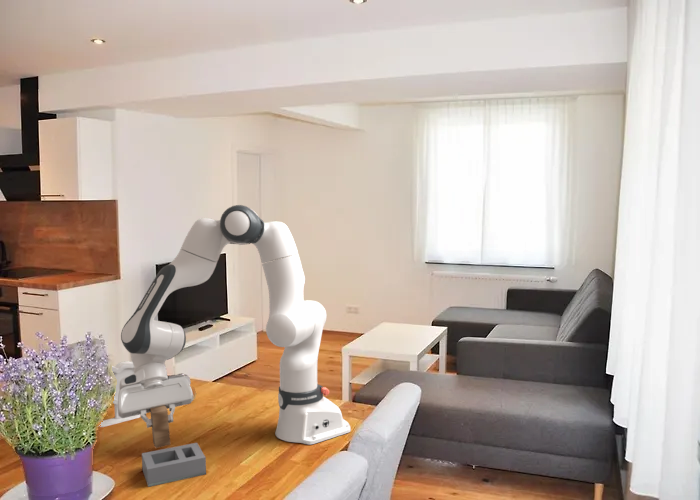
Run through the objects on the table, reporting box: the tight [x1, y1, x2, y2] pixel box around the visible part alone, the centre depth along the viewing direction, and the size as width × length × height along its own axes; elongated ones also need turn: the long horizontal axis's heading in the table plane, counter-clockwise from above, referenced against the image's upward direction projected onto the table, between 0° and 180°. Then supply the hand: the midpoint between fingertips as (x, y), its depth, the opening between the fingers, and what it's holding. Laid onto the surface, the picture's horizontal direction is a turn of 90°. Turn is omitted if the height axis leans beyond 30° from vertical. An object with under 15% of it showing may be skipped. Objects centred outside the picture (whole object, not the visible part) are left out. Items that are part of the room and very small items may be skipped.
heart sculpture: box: [98, 360, 141, 428], centre depth 188 cm, size 16×5×18 cm, turn 131°
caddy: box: [141, 442, 207, 488], centre depth 154 cm, size 14×10×4 cm
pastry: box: [190, 385, 197, 402], centre depth 208 cm, size 9×7×4 cm
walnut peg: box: [149, 405, 171, 449], centre depth 165 cm, size 4×4×10 cm
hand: (160, 424), depth 164 cm, fingers closed on walnut peg, 4 cm apart
